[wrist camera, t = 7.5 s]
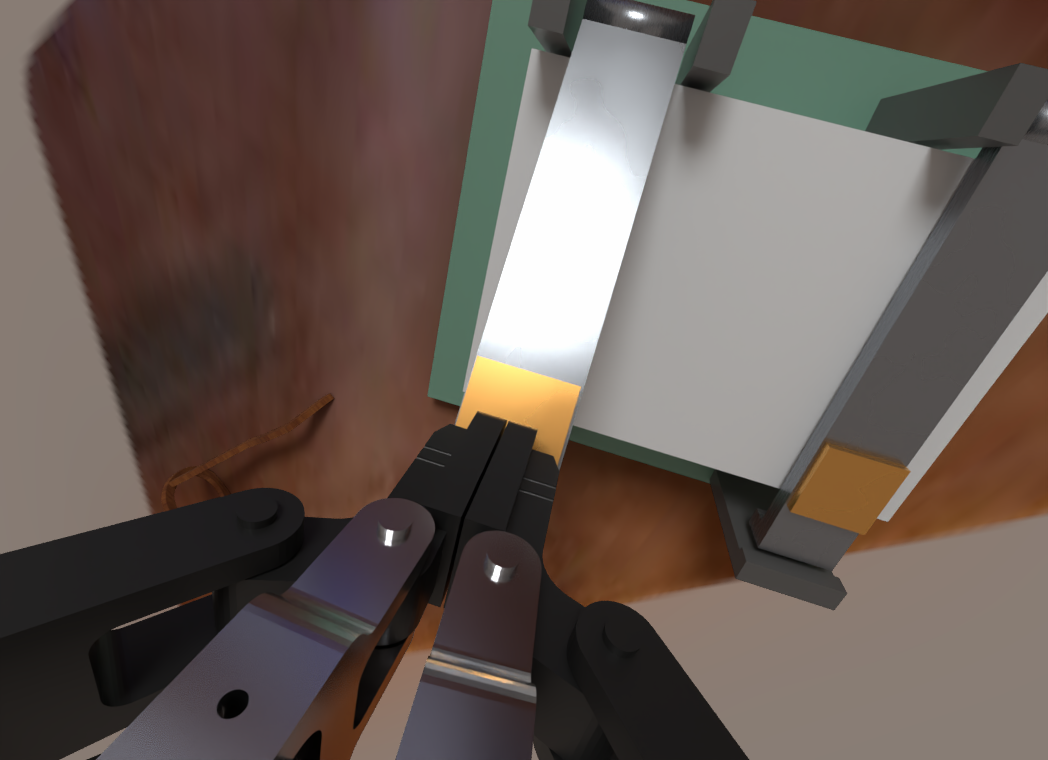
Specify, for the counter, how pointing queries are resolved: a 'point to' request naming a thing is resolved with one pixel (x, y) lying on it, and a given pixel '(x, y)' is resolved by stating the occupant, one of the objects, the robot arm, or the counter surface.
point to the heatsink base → (740, 242)
